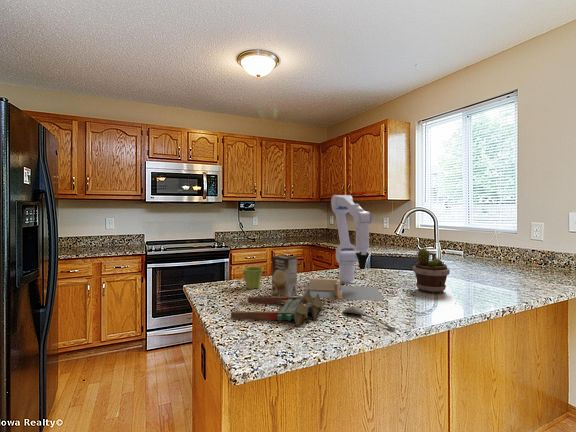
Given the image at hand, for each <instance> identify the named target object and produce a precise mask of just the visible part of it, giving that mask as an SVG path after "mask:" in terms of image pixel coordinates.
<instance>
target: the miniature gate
mask: <svg viewBox="0 0 576 432" xmlns="http://www.w3.org/2000/svg"><path fill="white" fill-rule="evenodd" d="M302 296H303V295H302ZM302 296H301V295H299V296H294V295H292V296H289V297H286V296H253V297H252V296H250V297H249V296H248V298H247V302H248V303H249V304H264V305H268V304H269V305H270V304H271V305H272V304H275V305H276V304H277V305H279V304H282V305H283V306H282V308H279V310H274V311H272V310H271V311H231V312H230V318H231V319H240V320H250V321H251V320H257V321H258V320H259V321H261V320H263V321H264V320H265V321H266V320H267V321H268V320H269V321H271V320H272V321H273V320H274V321H275V320H277V321H282V320H283V321H286V320H287V321H291V320H294V322H295V326H296V328H297V329H298V328H300V327H301V324H302V322H303V321H304V320H305V319H308V318H309V316H308V315H309V313H310V315H311V317H312V319H313V321H314V322H316V321H317V318H318V316H319V314H320V313H321V312H324V311H325V310H324V306H325V305H326V304H327V303H326V302H322V300H321V298H319V294H317V296H316V297H315V298H312V297H311V295H310V291H309V289H308V291H307V292H306V293H305V295H304V296H303V297H302Z"/></svg>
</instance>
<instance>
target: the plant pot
mask: <svg viewBox="0 0 576 432" xmlns="http://www.w3.org/2000/svg"><path fill="white" fill-rule="evenodd" d="M263 270H264V267H261V266H248V267H246V266H245V267H243V268H242V272H243V274H244V281H245V288H247V289H248V290H249V289H250V290H254V289H259V288H260V287H261V286H260V285H261V279H262V273H263Z"/></svg>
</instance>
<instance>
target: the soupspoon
mask: <svg viewBox="0 0 576 432" xmlns="http://www.w3.org/2000/svg"><path fill="white" fill-rule="evenodd" d="M341 313H349V314H350V313H351V314H357V315H361V316H364V317H367V318H369V319H371V320H373V321H376V322H378V323H379V324H381V325H383V326H385V327H387V329H389V331H390V332H395V331H396V327H394V326H391V325H389V324H388V323H385V322H383V321H381V320H379V319H378V318H375V317H374V316H371V315H369V314H366V313H364V310H363V309H362V308H360V307H356V306H350V307H347V308H345V309H343V311H342V312H341Z"/></svg>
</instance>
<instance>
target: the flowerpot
mask: <svg viewBox="0 0 576 432" xmlns="http://www.w3.org/2000/svg"><path fill="white" fill-rule="evenodd" d="M415 257H417V261H418V262H416V263H415V264H414V266H412V271H413V273H415V274H414V275H415V279H416V282H415V286H416V288H417V289H418V291H420V292H422V293H425V294H435V295H436V294H438V295H439V294H443V293H444V291H446V288H447V285H446V282H447V277H448V275H450V273H451V270H450V268H448V265H447V264H446V263H443V260H442V259H440V258H432V259H431V251H430V250H428V249H427V248H426V247H423V246H420V249H419V250H417V253H416V256H415Z"/></svg>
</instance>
